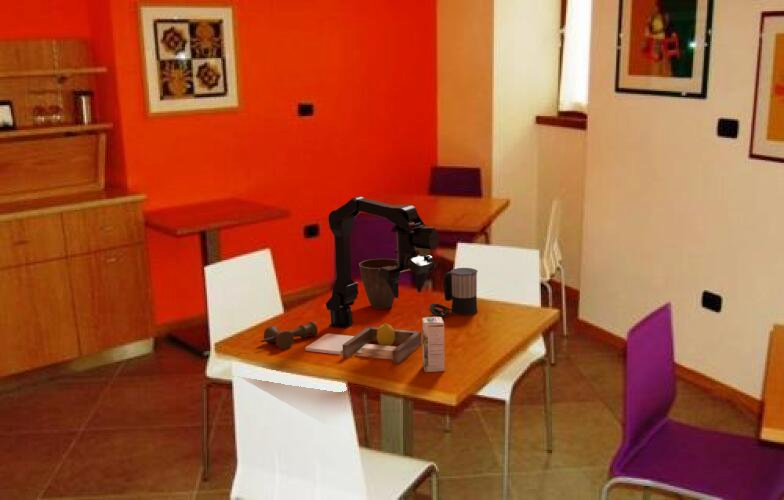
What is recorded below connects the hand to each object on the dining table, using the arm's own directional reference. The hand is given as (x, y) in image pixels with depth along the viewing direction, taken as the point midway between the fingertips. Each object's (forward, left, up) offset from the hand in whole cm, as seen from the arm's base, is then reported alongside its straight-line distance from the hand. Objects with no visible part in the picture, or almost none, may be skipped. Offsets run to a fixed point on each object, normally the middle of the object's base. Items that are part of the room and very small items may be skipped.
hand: (408, 295), depth 254 cm
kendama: (-35, -16, -15) cm, 41 cm away
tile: (-20, -14, -14) cm, 28 cm away
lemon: (-3, -11, -14) cm, 18 cm away
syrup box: (+17, -23, -14) cm, 32 cm away
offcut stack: (-3, -18, -14) cm, 23 cm away
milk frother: (+5, +28, -14) cm, 32 cm away
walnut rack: (-3, -14, -14) cm, 20 cm away
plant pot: (-23, +29, -14) cm, 40 cm away
